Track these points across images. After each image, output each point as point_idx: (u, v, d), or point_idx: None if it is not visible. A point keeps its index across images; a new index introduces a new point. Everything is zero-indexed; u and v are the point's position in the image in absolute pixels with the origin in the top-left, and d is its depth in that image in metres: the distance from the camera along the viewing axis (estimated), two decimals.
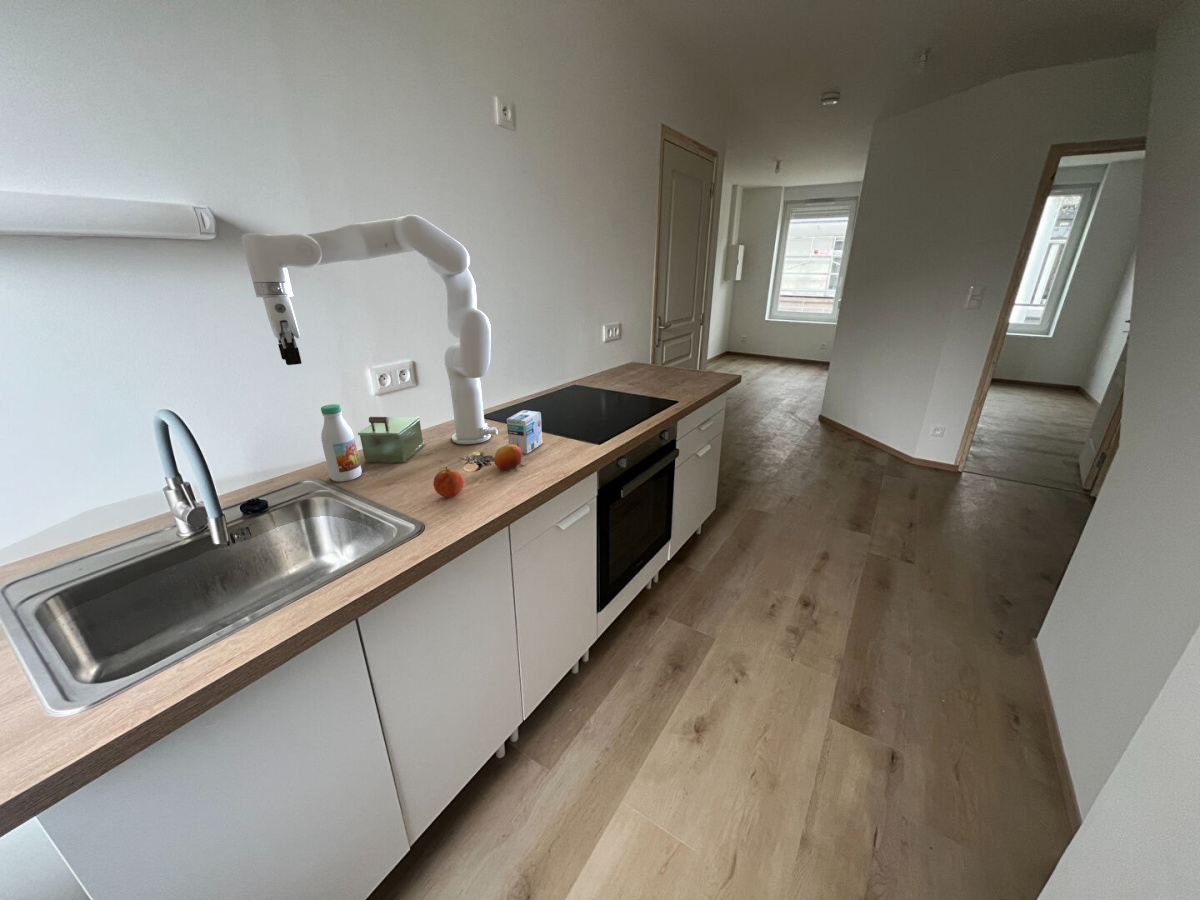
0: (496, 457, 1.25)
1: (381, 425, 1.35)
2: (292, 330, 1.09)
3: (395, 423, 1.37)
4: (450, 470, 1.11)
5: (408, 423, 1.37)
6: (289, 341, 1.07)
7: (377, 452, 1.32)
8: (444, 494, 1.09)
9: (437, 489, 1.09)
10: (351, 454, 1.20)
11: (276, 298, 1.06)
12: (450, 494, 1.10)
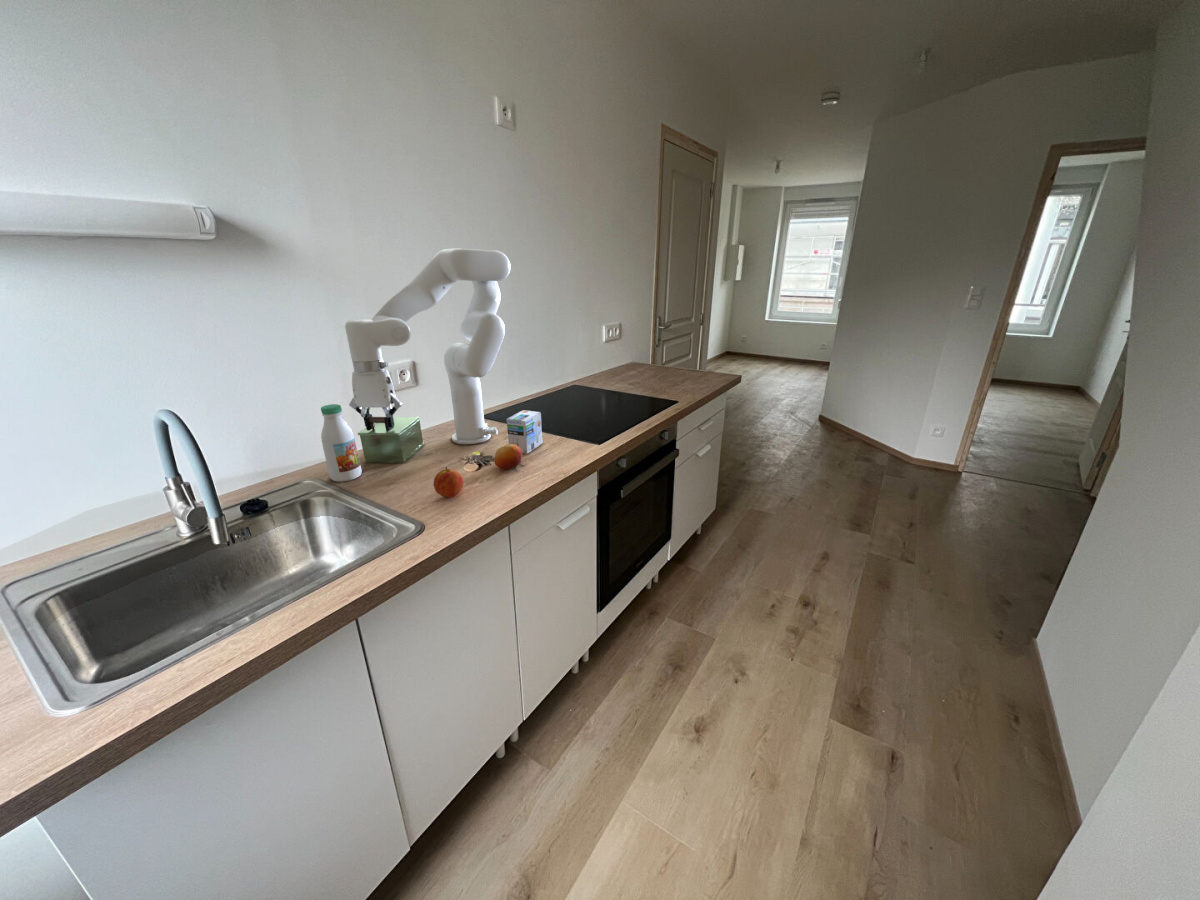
0: (496, 457, 1.25)
1: (381, 425, 1.35)
2: None
3: (395, 423, 1.37)
4: (450, 470, 1.11)
5: (408, 423, 1.37)
6: (396, 409, 1.28)
7: (377, 452, 1.32)
8: (444, 494, 1.09)
9: (437, 489, 1.09)
10: (351, 454, 1.20)
11: (385, 372, 1.24)
12: (450, 494, 1.10)
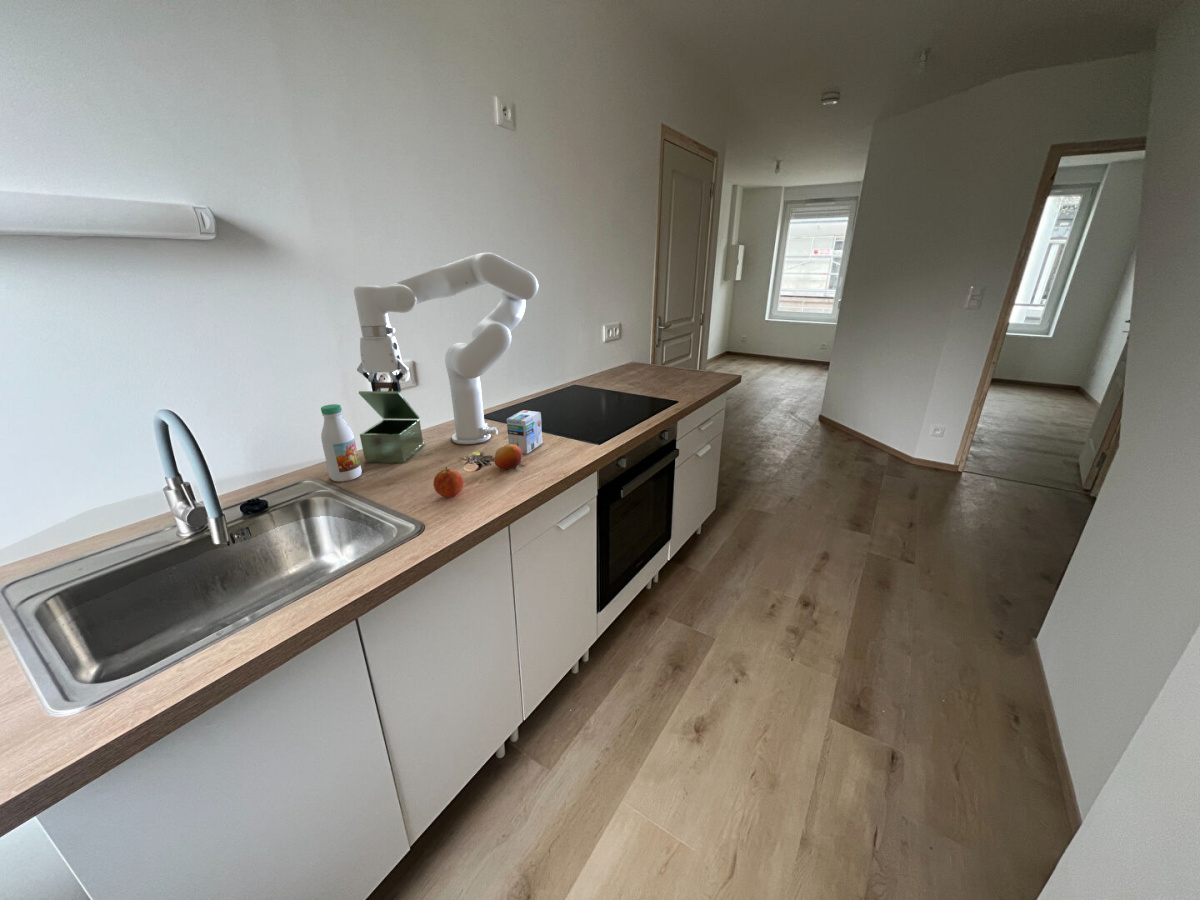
0: (496, 457, 1.25)
1: None
2: (400, 367, 1.32)
3: None
4: (450, 470, 1.11)
5: None
6: (402, 375, 1.32)
7: (377, 452, 1.32)
8: (444, 494, 1.09)
9: (437, 489, 1.09)
10: (351, 454, 1.20)
11: (392, 338, 1.28)
12: (450, 494, 1.10)
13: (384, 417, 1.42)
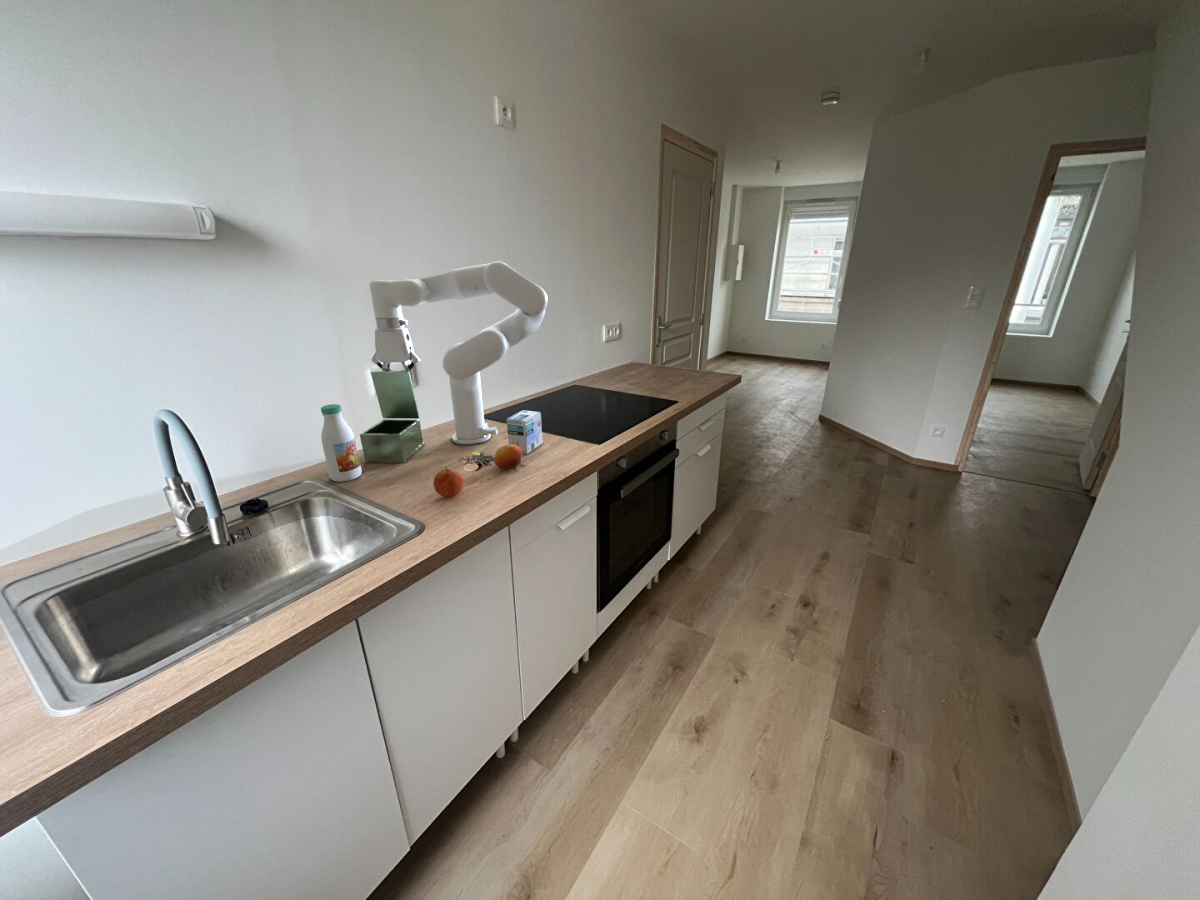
0: (496, 457, 1.25)
1: None
2: None
3: None
4: (450, 470, 1.11)
5: None
6: (414, 365, 1.40)
7: (377, 452, 1.32)
8: (444, 494, 1.09)
9: (437, 489, 1.09)
10: (351, 454, 1.20)
11: (405, 329, 1.36)
12: (450, 494, 1.10)
13: (384, 415, 1.42)
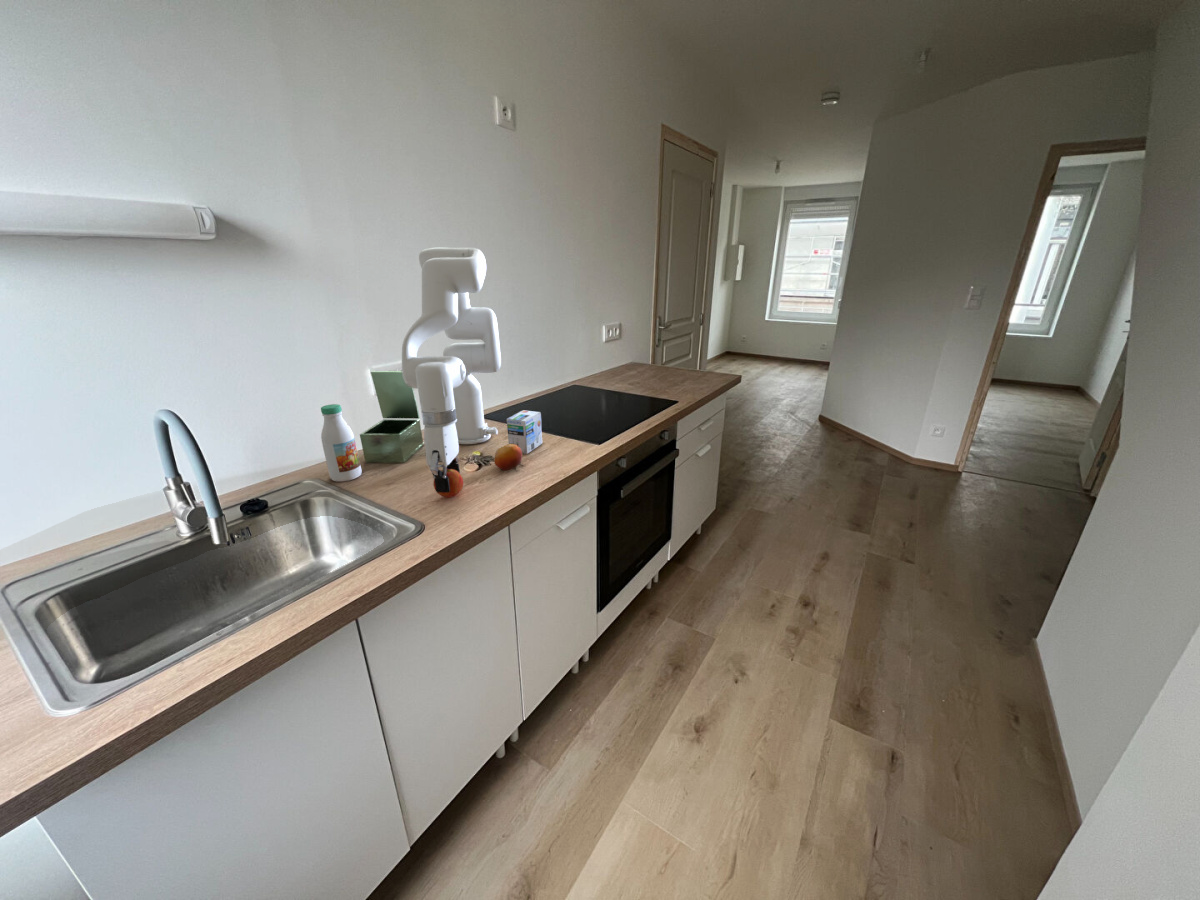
0: (496, 457, 1.25)
1: None
2: None
3: None
4: (450, 470, 1.11)
5: None
6: None
7: (377, 452, 1.32)
8: (444, 494, 1.09)
9: None
10: (351, 454, 1.20)
11: None
12: (450, 494, 1.10)
13: (384, 415, 1.42)
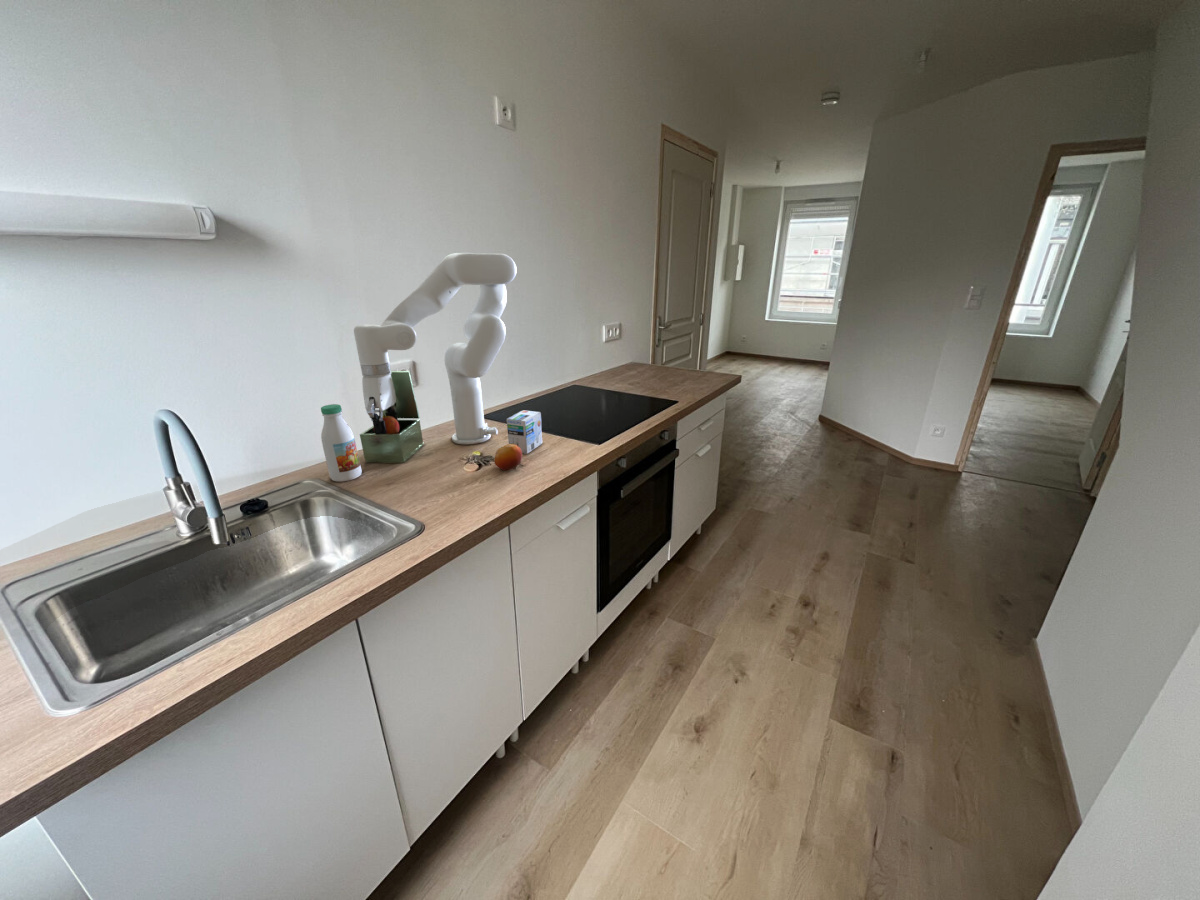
0: (496, 457, 1.25)
1: None
2: None
3: None
4: (387, 416, 1.33)
5: None
6: None
7: (377, 452, 1.32)
8: None
9: None
10: (351, 454, 1.20)
11: None
12: None
13: None
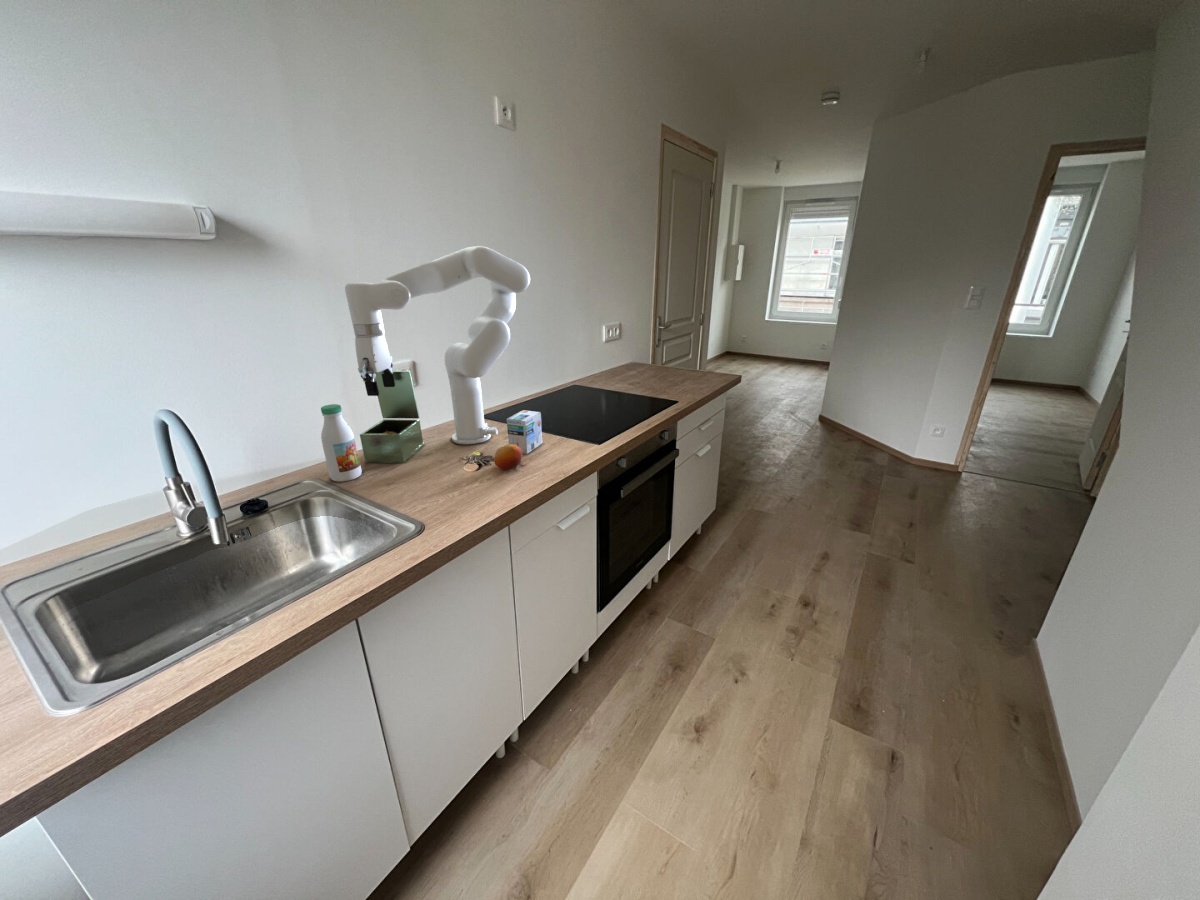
0: (496, 457, 1.25)
1: None
2: None
3: None
4: (390, 432, 1.35)
5: None
6: None
7: (377, 452, 1.32)
8: None
9: None
10: (351, 454, 1.20)
11: None
12: None
13: (384, 415, 1.42)
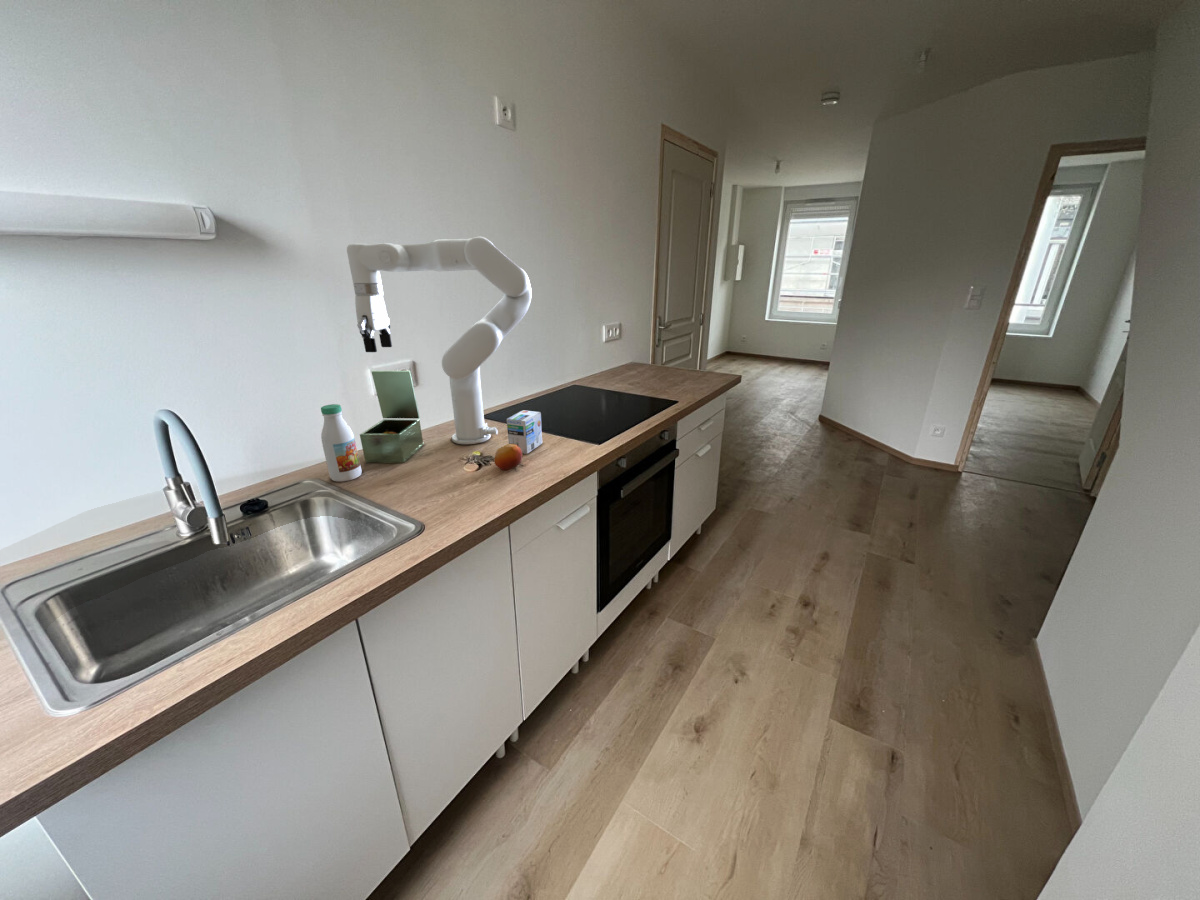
0: (496, 457, 1.25)
1: None
2: None
3: None
4: (390, 432, 1.35)
5: None
6: None
7: (377, 452, 1.32)
8: None
9: None
10: (351, 454, 1.20)
11: None
12: None
13: (384, 415, 1.42)
